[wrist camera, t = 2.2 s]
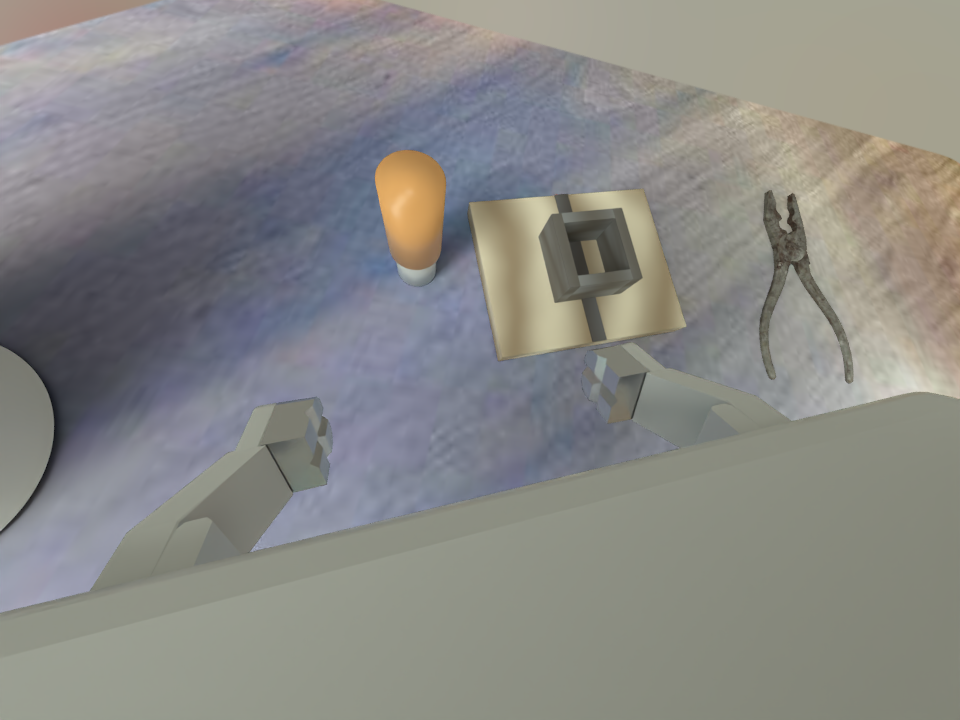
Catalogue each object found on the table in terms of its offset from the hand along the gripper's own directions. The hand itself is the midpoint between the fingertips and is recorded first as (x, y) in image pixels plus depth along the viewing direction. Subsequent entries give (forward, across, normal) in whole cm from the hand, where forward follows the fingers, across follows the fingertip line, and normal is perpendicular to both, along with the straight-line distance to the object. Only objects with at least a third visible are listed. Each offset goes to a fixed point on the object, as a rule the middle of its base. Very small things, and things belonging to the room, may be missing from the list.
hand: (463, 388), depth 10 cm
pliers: (+15, -34, +7) cm, 38 cm away
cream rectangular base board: (+18, -13, +4) cm, 22 cm away
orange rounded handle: (+19, 0, +3) cm, 19 cm away
